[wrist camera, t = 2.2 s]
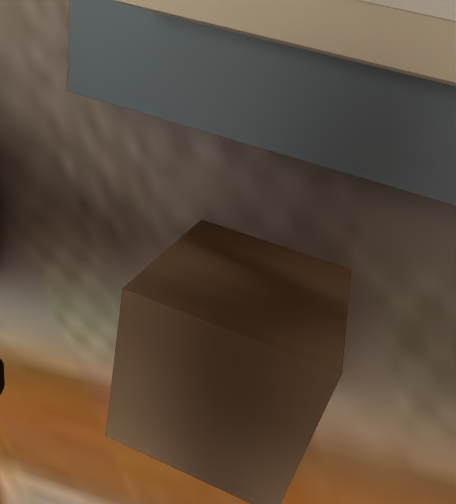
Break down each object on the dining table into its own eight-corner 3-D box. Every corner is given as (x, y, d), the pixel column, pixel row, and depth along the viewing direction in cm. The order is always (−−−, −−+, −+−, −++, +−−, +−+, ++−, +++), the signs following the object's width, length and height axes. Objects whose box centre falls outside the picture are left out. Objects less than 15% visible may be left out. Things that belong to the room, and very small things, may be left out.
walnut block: (178, 335, 16) (105, 435, 11) (202, 218, 13) (122, 288, 9) (303, 384, 15) (275, 514, 10) (350, 268, 13) (341, 373, 8)
